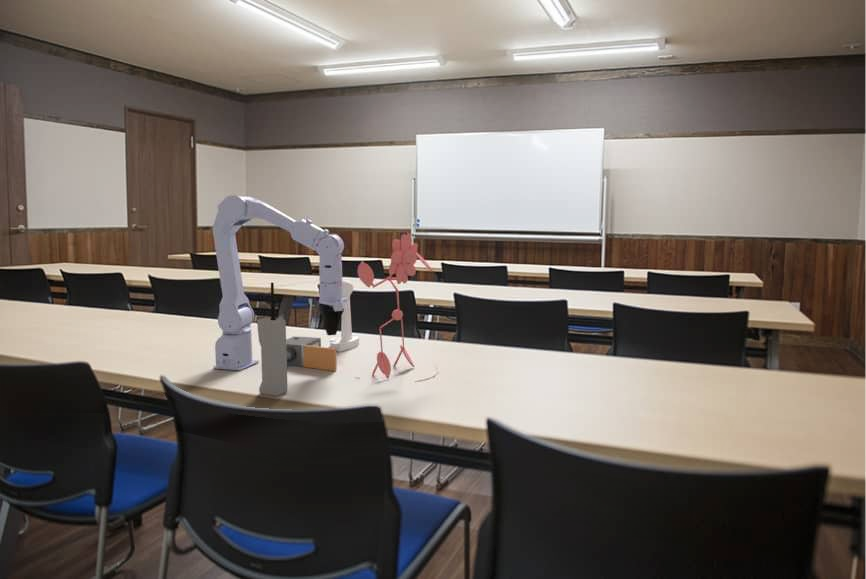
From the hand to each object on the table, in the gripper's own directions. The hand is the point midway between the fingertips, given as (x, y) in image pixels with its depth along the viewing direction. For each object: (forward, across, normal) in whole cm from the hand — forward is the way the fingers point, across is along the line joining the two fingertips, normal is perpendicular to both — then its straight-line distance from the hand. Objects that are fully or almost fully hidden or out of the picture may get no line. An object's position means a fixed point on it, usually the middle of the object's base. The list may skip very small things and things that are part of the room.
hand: (331, 334), depth 165 cm
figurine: (+9, -14, -15) cm, 22 cm away
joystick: (+9, +23, -9) cm, 26 cm away
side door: (+9, 0, +3) cm, 9 cm away
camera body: (+9, +11, +6) cm, 15 cm away
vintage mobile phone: (+9, -17, +18) cm, 26 cm away
